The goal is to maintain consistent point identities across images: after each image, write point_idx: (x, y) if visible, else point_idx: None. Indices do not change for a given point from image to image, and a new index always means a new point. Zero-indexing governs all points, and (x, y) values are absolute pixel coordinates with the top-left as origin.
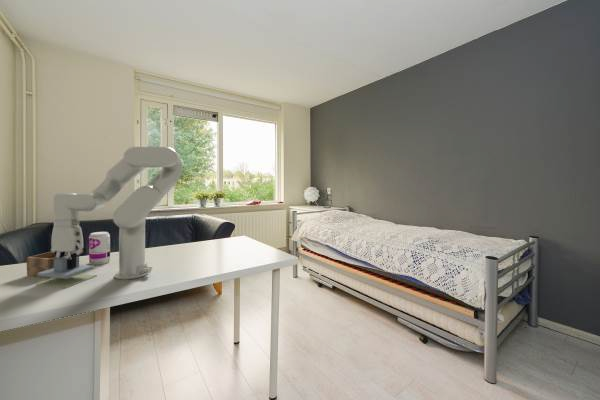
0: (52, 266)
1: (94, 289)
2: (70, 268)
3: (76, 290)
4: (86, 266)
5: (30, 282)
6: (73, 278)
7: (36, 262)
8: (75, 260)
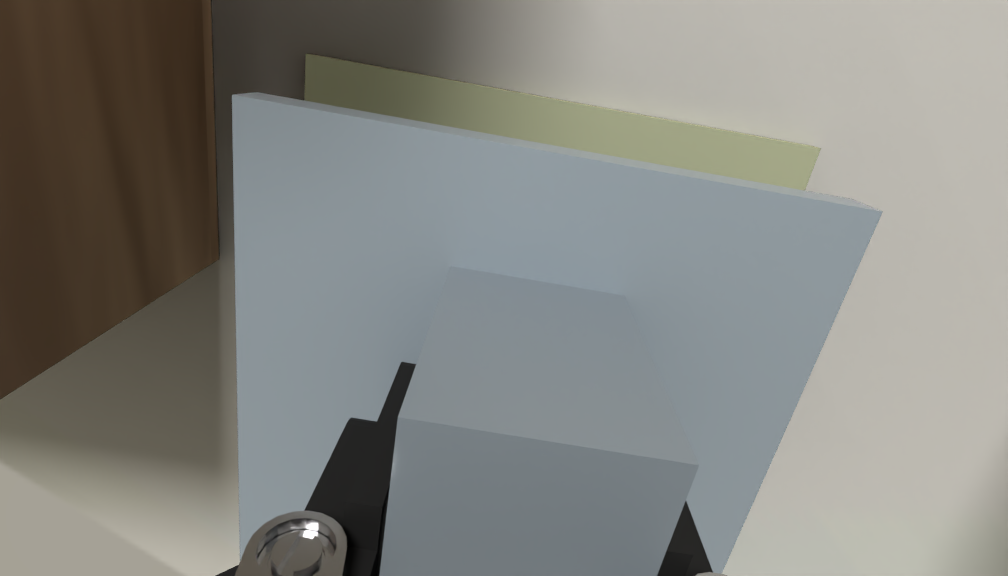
0: (102, 287)
1: (990, 549)
2: None
3: (816, 567)
4: (752, 265)
5: (148, 390)
6: None
7: None
8: (703, 559)
